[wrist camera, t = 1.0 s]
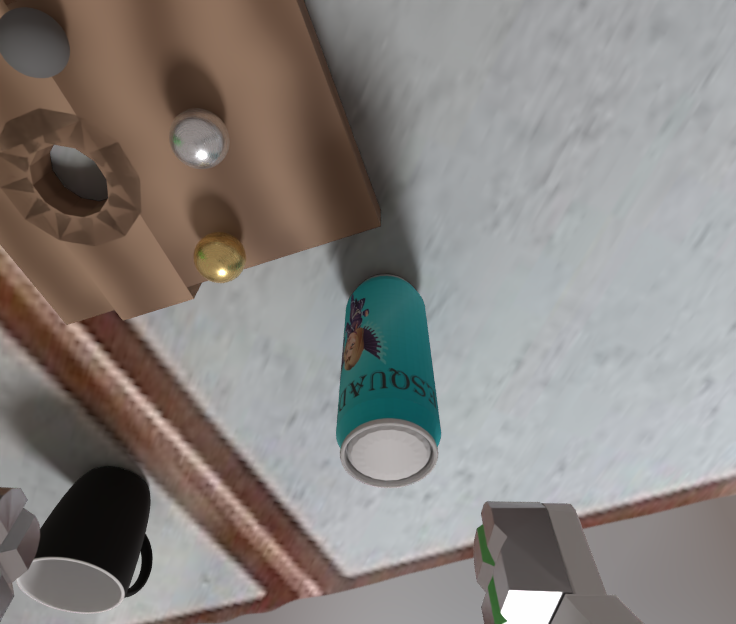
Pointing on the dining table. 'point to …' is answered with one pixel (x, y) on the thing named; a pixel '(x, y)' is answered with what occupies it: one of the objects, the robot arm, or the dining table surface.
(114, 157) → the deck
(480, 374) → the dining table surface
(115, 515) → the mug
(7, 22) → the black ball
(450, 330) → the dining table surface
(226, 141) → the steel ball
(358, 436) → the beverage can
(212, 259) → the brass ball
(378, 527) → the dining table surface
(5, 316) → the dining table surface
